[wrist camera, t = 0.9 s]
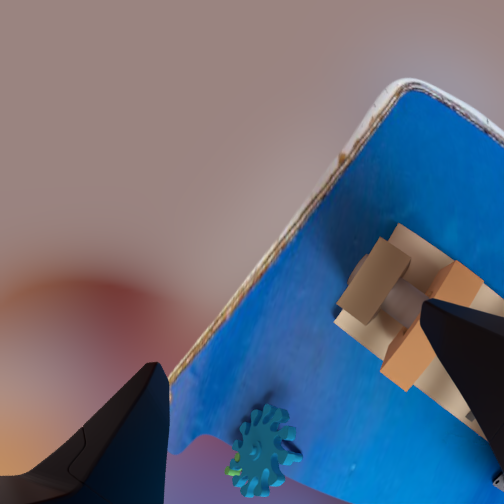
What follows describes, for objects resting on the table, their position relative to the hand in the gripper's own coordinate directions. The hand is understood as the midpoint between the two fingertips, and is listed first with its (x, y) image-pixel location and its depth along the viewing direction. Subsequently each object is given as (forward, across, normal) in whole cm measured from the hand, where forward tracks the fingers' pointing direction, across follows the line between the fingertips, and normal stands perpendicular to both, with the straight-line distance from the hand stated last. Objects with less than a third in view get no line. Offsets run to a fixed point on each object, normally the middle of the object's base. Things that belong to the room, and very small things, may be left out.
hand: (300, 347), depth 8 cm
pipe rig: (+5, -16, +11) cm, 20 cm away
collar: (+8, -11, +7) cm, 15 cm away
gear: (+10, +2, +21) cm, 24 cm away
